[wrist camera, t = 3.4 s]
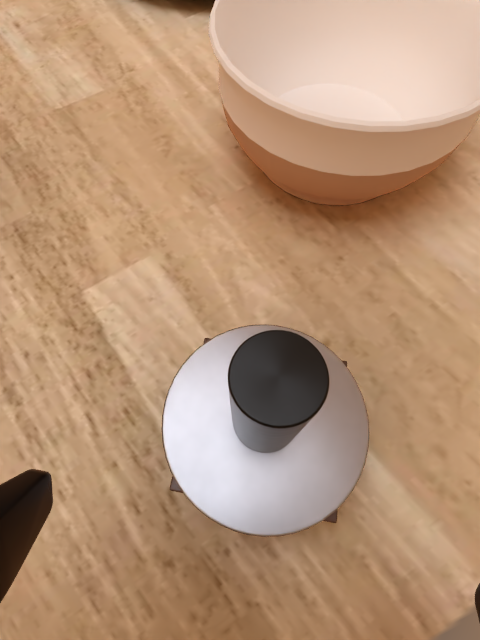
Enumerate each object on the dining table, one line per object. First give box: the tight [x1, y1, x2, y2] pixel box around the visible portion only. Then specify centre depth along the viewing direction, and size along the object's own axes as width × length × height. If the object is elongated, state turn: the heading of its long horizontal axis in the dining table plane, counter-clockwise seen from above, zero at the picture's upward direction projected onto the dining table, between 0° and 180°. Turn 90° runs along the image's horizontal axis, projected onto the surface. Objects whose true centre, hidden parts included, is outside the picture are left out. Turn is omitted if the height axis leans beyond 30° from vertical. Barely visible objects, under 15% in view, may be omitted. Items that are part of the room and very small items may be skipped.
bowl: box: [209, 0, 480, 205], centre depth 23 cm, size 16×16×8 cm
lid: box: [162, 325, 369, 537], centre depth 13 cm, size 8×8×7 cm
